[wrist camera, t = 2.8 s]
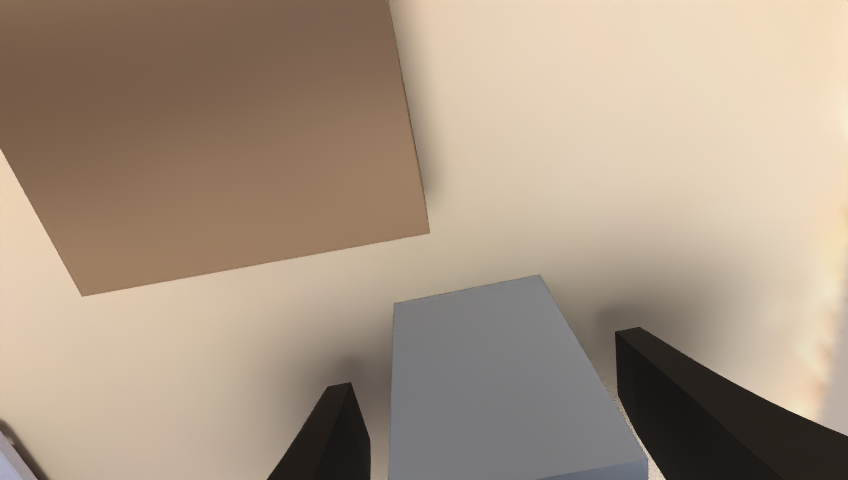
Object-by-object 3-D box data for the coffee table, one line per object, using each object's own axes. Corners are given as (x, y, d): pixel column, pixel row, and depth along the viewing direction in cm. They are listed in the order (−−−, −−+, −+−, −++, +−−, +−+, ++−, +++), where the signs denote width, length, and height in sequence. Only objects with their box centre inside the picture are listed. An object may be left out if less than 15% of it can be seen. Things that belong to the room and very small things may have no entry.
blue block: (552, 388, 14) (650, 613, 8) (423, 413, 14) (436, 649, 9) (538, 274, 12) (647, 459, 7) (393, 303, 13) (387, 505, 7)
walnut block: (423, 187, 12) (429, 233, 9) (156, 237, 12) (81, 297, 9) (359, -155, 9) (339, -244, 6) (12, -83, 9) (-156, -137, 6)
